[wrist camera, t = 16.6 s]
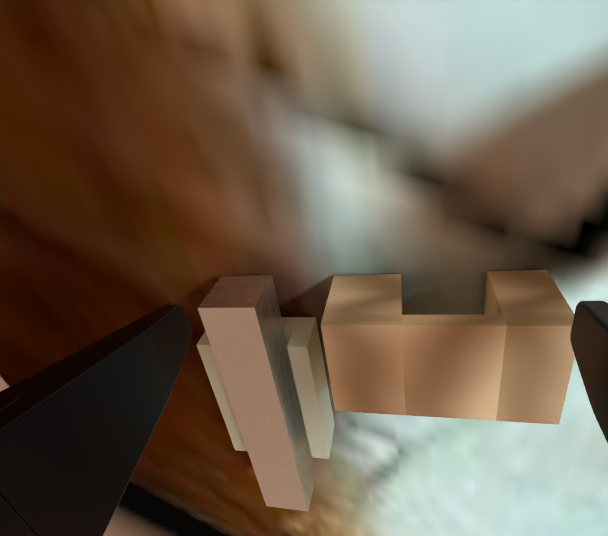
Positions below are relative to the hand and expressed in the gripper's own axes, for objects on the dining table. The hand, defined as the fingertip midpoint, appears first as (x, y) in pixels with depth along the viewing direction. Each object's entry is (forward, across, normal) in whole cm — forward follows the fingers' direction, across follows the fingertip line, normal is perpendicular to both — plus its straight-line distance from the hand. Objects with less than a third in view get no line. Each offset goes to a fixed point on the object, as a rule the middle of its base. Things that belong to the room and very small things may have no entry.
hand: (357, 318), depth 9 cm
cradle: (+12, +8, +14) cm, 20 cm away
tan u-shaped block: (+12, -2, +9) cm, 15 cm away
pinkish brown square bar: (+11, +8, +14) cm, 20 cm away
